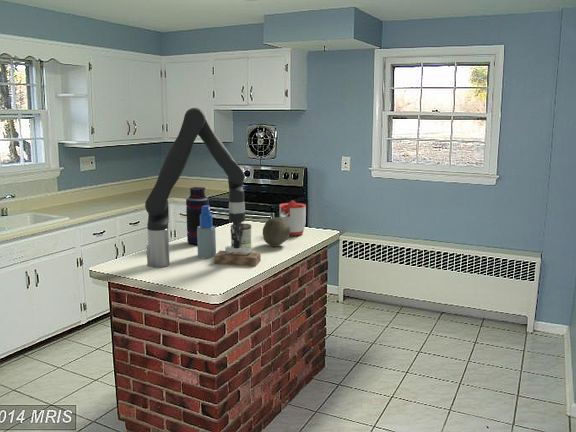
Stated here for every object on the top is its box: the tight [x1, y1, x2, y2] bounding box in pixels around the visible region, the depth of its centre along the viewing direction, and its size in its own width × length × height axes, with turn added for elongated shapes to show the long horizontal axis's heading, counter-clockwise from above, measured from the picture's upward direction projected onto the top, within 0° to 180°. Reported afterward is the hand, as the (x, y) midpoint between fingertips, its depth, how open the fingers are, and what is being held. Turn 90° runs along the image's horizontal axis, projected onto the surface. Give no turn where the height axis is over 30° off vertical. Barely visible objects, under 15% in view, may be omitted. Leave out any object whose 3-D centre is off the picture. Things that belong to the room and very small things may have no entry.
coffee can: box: [230, 222, 252, 252], centre depth 274 cm, size 10×10×14 cm
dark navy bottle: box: [185, 186, 210, 245], centre depth 293 cm, size 14×12×30 cm
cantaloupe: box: [262, 216, 290, 247], centre depth 289 cm, size 14×14×15 cm
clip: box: [224, 236, 250, 256], centre depth 257 cm, size 11×3×12 cm, turn 79°
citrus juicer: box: [279, 199, 307, 237], centre depth 315 cm, size 16×17×20 cm
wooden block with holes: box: [213, 250, 262, 267], centre depth 258 cm, size 20×9×4 cm, turn 79°
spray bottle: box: [197, 204, 217, 259], centre depth 267 cm, size 9×9×25 cm
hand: (237, 247), depth 257 cm, fingers closed on clip, 3 cm apart
